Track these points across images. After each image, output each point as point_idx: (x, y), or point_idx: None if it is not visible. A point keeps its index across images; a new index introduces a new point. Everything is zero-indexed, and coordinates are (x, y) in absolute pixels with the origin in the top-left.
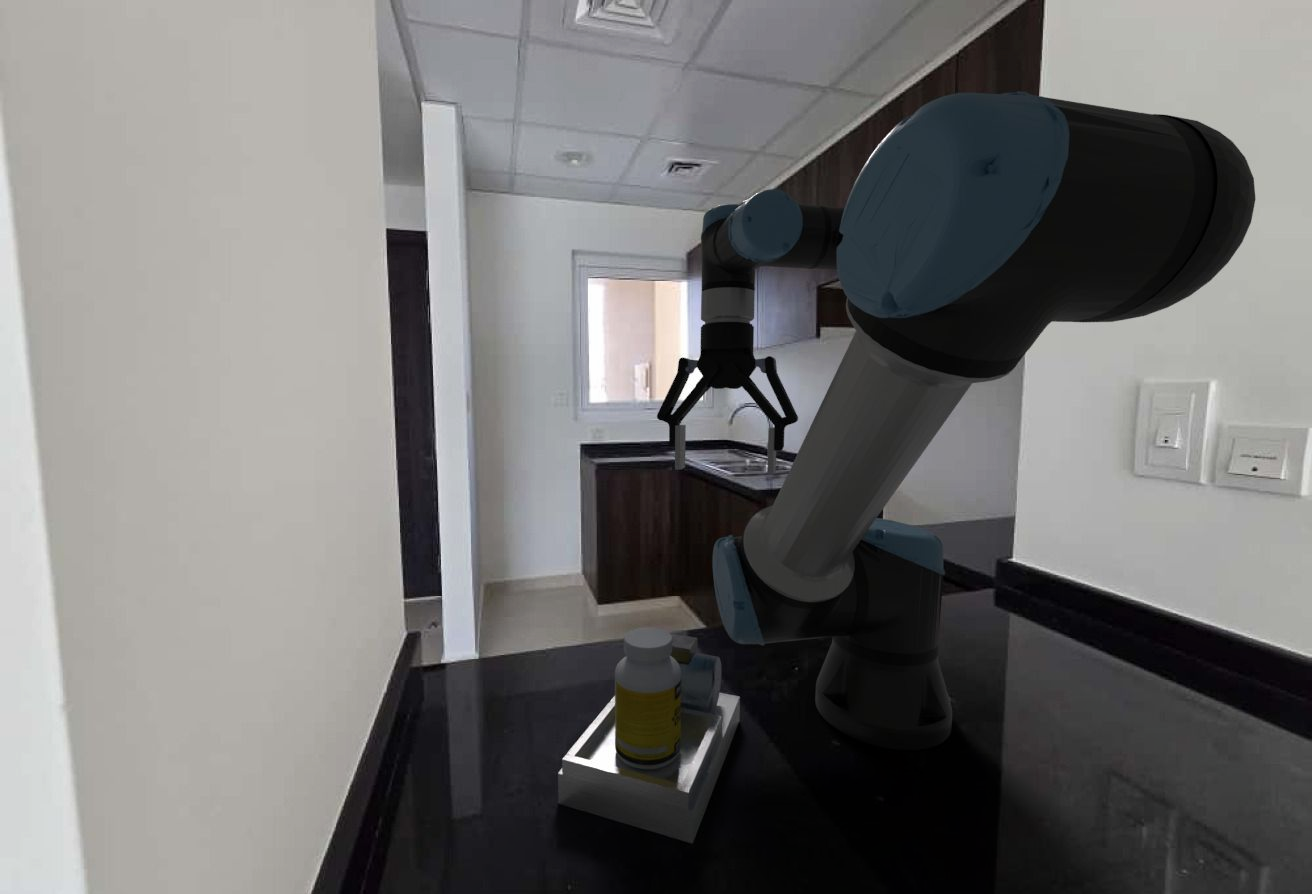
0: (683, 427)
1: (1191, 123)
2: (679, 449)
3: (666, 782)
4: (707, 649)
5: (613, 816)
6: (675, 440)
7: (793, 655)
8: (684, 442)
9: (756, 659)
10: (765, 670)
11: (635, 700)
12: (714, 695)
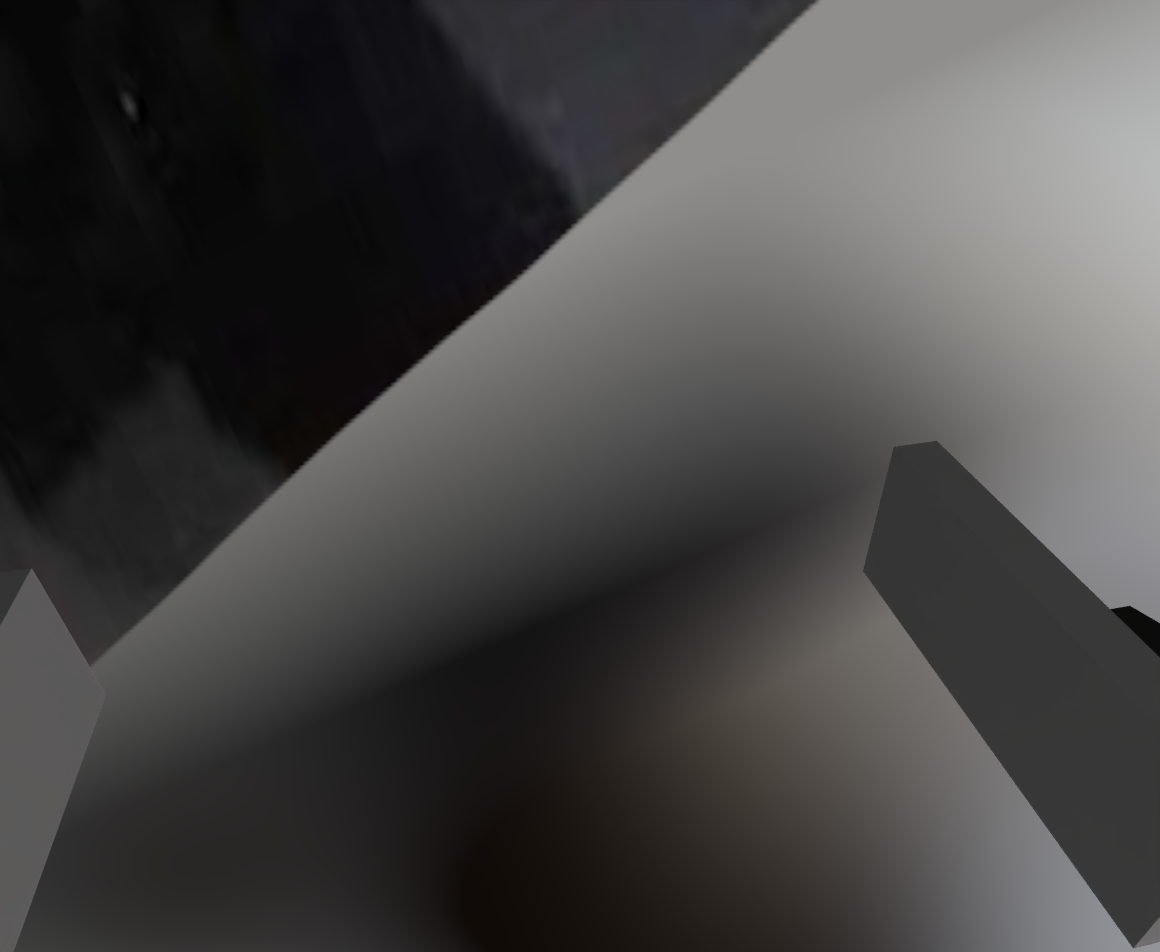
0: (1147, 870)
1: None
2: (1016, 569)
3: None
4: (467, 113)
5: None
6: (1135, 635)
7: (182, 202)
8: (1003, 731)
9: (283, 112)
10: (218, 38)
11: None
12: None
